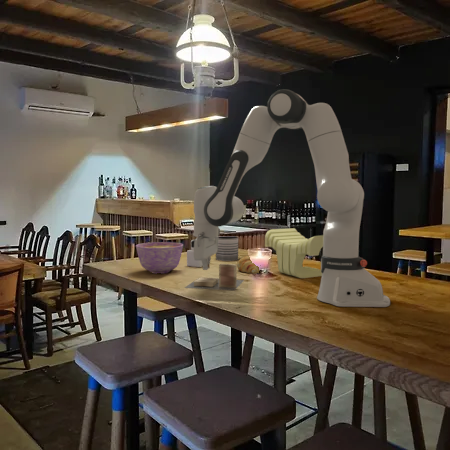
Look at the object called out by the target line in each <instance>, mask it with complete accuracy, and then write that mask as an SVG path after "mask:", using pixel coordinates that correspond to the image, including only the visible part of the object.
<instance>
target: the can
mask: <svg viewBox="0 0 450 450" xmlns="http://www.w3.org/2000/svg"><path fill="white" fill-rule="evenodd" d="M218 236H219V240H218V250H217V253H216V254H215V260H217V261H223V262H232V261H237V260H238V261H239V236H235V235H234V236H233V235H231V236H228V235H227V236H222V235H221V236H220V235H218Z"/></svg>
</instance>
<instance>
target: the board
mask: <svg viewBox="0 0 450 450" xmlns="http://www.w3.org/2000/svg"><path fill="white" fill-rule="evenodd" d="M244 281H245V279H236V288H233V287H219V278H218V283H217V284H216V285H214V286H213V287H209V286H194V281H192V282H191V283H189V284H188V285H187V286H184V288H185V289H200V290H201V289H202V290H218V291H220V290H221V291H236V290H237V288H239V286H240V285H241V284H242V283H243V282H244Z"/></svg>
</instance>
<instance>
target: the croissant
mask: <svg viewBox="0 0 450 450" xmlns="http://www.w3.org/2000/svg"><path fill="white" fill-rule="evenodd" d="M249 256H250V255H246V256H243V257H241V258H240V259H238V261H237V269H238V270H239V271H240V272H242V273H245V274H253V275H257V273H258V274H260V273H259V271H260V270H259V267H258V266H256V265H255V264H254V263H252V261H251V260H250V257H249ZM260 272H261V271H260Z"/></svg>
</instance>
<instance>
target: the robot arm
mask: <svg viewBox="0 0 450 450" xmlns="http://www.w3.org/2000/svg"><path fill="white" fill-rule="evenodd" d="M240 129H241V130H240V132H239V134H238V137H237V140H236V143H235V144H234V145H235V146H234V148H233V151H232V154H231V156H230V157H229V160H228V162H227V164H226V166H225V168H224V170H223V173H222V176H221V178H220V180H219V182H218V184H217V186H214V185H208V186H201V187H198V188H197V189H196V191H195V192H194V197H193V198H194V199H193V213H194V220H193V237H195V239H194V240H195V242H194V260H201V261H202V264H203V266H202V270H204V271H207V270H209V269H210V266H211V265H210V264H211V261H212V260H211V259H212V258H211V257H213V256H214V255H216V253H217V250H218V240H219V236H220V234H221V228H220V227H223V226H226V225H228V224H232V223H235V222H237V221H239V220H241V219H242V217H243V216H244V215H245V204H244V202H243V200H242V199H241V198H239V197H238V196H235V195H236V193H237V190H238V189H239V185H240V184H241V182H242V179H243V177H244V176H245V174H246V173H248V171H249V170H251V169H252V168H254V167H255V166H257V165H259V164H260V163H262V162H263V160H264V158H265V157H266V155H267V153H268V151H269V148H270V147H271V143H272V140H273V138H274V135H275V133H276V132H277V131H278V130H283V131H284V130H285V131H286V130H289V131H297V130H300V129H302V130H303V132H304V134H305V137H306V141H307V144H308V148H309V151H310V154H311V159H312V162H313V165H314V173H315V180H316V188H317V194H316V198H317V202H318V205H320V206H319V207H321V208H322V209H323V210H325V211H326V212H327V216H326V222H325V225H324V228H323V232H322V233H323V234H322V235H323V247H322V255H321V257H320V270H321V272H322V276H320V277H321V278H320V284H319V290H318V294H317V296H316V299H317V300H318V301H320V302H323V303H327V304H331V305H333V306H336V307H345V308H346V307H354V308H356V307H357V308H358V307H359V308H363V307H364V308H365V307H367V308H368V307H369V308H370V307H371V308H373V307H374V308H386V307H389V306H391V299H390V298H389V297H388V296H387V295H385V294H384V290H383V289H384V288H383V285H382V283H381V281H380V280H379V279H378V278H376V277H375V276H374V275H373V274H371V273H370V272H369V271H368V270H367V269H366V268H365V267H366V266H367V265H368V261H367V260H366V259H364V258H363V257H360V256H359V252H360V251H359V250H360V249H359V245H360V244H359V243H360V242H359V241H360V228H361V227H360V226H361V221H362V215H363V207H364V199H365V191H364V189H363V187H362V185H361V184H360V182H359V181H357V180H356V179H353V178H352V174H351V168H350V159H349V158H350V157H349V156H350V155H349V152H348V148H347V145H346V142H345V138H344V135H343V132H342V131H343V130H342V129H341V125H340V123H339V120H338V118H337V116H336V113H335V112H334V110H333V108H332V106H330V104H328V103H325V102H317V103H313V104H309V103H308V102H307V101H306V100H305V99H304V98H303V97H302V96H301V95H300V94H298V93H296V92H295V91H293V90H290V89H284V88H283V89H278V90H277V91H275V92H273V93H272V94H271V96H270V97H269V98H268V101H267V104H266V106H265V105H256V106H253V108H251V110H250V111H249V113H248V114H247V116H246V118H245V119H244V123H243V124H242V126H241V128H240Z"/></svg>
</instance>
